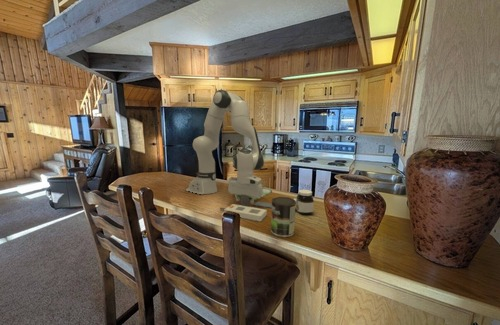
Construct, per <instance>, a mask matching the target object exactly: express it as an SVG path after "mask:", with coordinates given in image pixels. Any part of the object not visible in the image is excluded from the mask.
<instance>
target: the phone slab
mask: <svg viewBox="0 0 500 325" xmlns="http://www.w3.org/2000/svg"><path fill="white" fill-rule="evenodd" d="M252 207H257V208H264V207H265V209H271V210H272V202H271V203H270V202H265V201H257V200H256V201H255V202H254V203H253V204H252Z"/></svg>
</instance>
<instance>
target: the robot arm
mask: <svg viewBox="0 0 500 325" xmlns="http://www.w3.org/2000/svg"><path fill="white" fill-rule="evenodd" d="M227 112H229V113H230V123H231V128H232V130H233V131H234V132H236V133H237V134H240V135H242V136H245V137H246V138H248V139H249V140H250V142H251V147H252V150H251V149H248V148H241V149H239V150H238V153H236V154H234V155H233V157H232V167H233V168H234V169H235V170H237V173H236V176H235V177H234V176H231V177H229V178H228V187H227V188H228V189H227V192H228V193H229V194H233V195H234V194H235V196H234V197H235V199H236V202H241V197H238V194H239V195H241V194H243V195H247V196H252V198H253V199H252V200H249V205H250V204H251V205H253V204H254V203H255V201H254V199H255V198H256V197H261V196H262V195H263V188H262V187H263V185H262V183H261V182H262V178H260V177H258V176H256V175H254V171H260V170H261V169H262V168H263V167H264V166H265V165H264V164H265V160H264V156H263V153H262V150H261V146H260V140H259V137H258V132H257V130H256V128H255V127H254V126H253V125H252V123H251V120H250V112H249V105H248V103H247V101H245V99H243V98H242V97H241V96H239V95H238V94H236V93H233V92H230V91H226V90H225V89H218V90H216V91H215V92H214V94H213V99H212V102H211V104H210V106H209V108H208V111H207V113H206V117H205V119H204V123H203V127H204V131H203V132H204V134H203V135H201V136H200V135H199V136H198V137H195V138H194V139H193V142H192V148H193V150H194V151H195V153H196V155H197V159H198V172H196V177H194V179H192V180H191V181H189V185H188V187H187V188H186V189H185V192H188V191H190V192H189V193H192V192H193V193H192V194H195V193H197V194H196V195H199V194H201V195H208V194H214V193H217V192H218V187H217V181H216V178H217V175H216V174H217V173H216V172H217V171H216V161H215V158H214V156H213V151H214V150H216V149H217V148H218V147H219V144H220V141H219V139H220V138H219V137H220V133H221V132H220V131H221V127H222V125H223V121H224V119H225V115H226V113H227Z"/></svg>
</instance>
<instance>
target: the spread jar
mask: <svg viewBox="0 0 500 325" xmlns="http://www.w3.org/2000/svg"><path fill="white" fill-rule="evenodd" d="M293 199H294V200H295V201H296V206H295V210H296V211H297V213H298V214H301V215H306V216H309V215H311V214H313V212H314V207H315V206H314V205H315V204H314V202H315V201H314V198H313V191H311V190H309V189H299V190H298V194H297V196H296V198H293Z"/></svg>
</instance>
